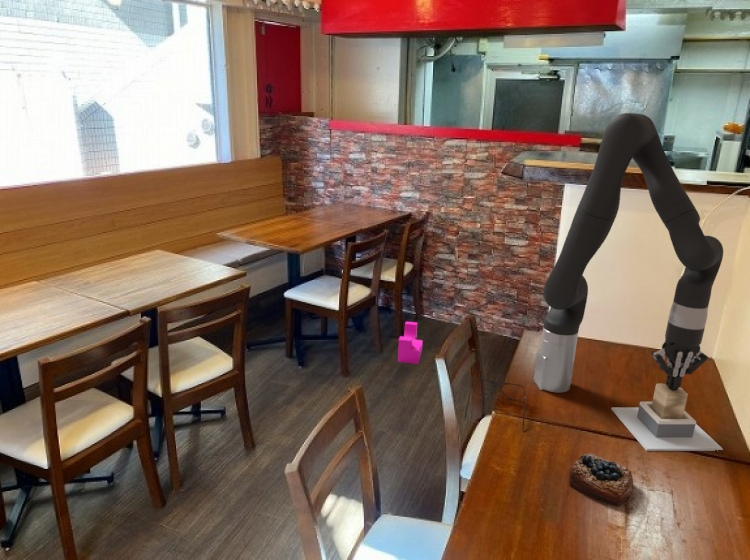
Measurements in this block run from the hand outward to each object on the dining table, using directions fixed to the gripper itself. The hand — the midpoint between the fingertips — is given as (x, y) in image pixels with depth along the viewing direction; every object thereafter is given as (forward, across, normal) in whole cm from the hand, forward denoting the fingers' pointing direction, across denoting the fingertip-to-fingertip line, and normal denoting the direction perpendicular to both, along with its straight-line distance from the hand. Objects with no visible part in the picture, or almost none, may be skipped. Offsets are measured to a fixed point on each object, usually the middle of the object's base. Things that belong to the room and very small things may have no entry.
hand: (672, 388), depth 131 cm
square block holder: (+11, 0, 0) cm, 11 cm away
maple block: (+7, 0, 0) cm, 7 cm away
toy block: (+12, -58, +43) cm, 73 cm away
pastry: (+12, -25, -21) cm, 35 cm away
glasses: (+12, -40, +8) cm, 43 cm away
